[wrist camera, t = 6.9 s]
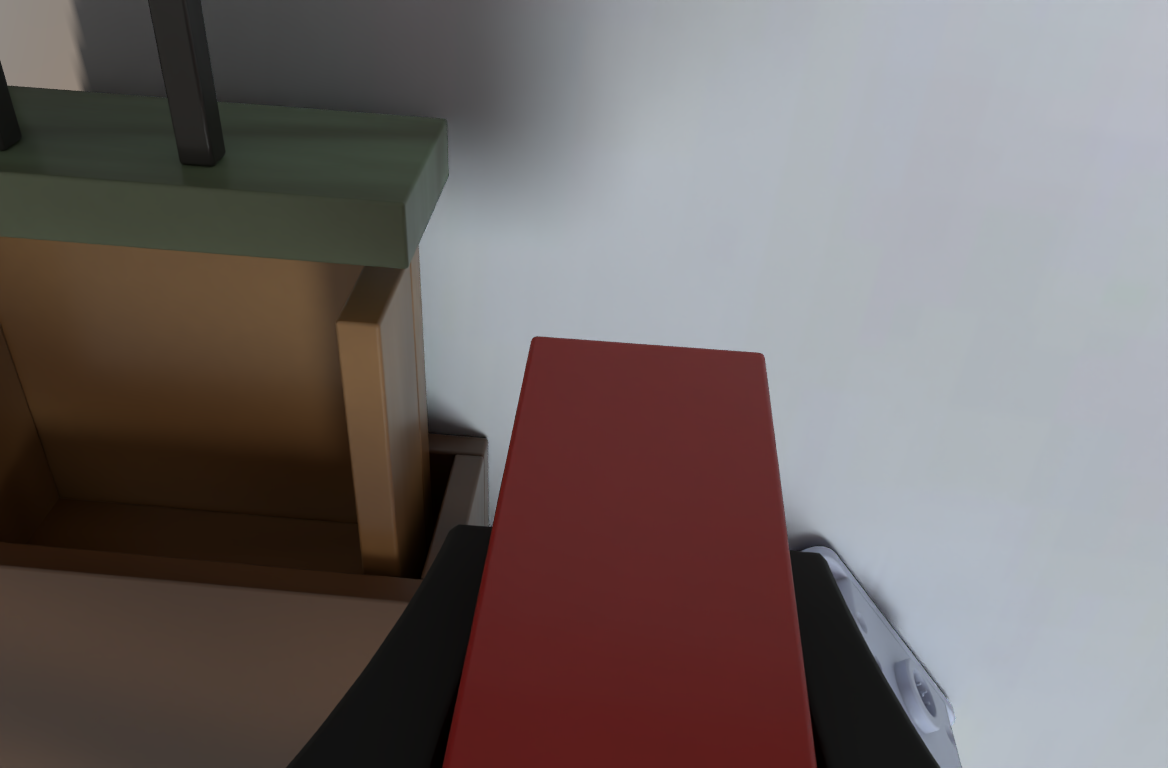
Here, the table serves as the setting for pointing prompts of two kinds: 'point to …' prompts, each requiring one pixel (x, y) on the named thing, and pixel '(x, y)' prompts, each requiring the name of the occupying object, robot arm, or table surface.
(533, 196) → the table surface
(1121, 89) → the table surface
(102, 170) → the drawer
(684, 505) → the red rectangular block
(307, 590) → the cabinet
